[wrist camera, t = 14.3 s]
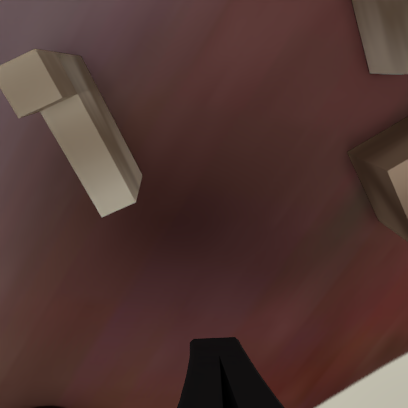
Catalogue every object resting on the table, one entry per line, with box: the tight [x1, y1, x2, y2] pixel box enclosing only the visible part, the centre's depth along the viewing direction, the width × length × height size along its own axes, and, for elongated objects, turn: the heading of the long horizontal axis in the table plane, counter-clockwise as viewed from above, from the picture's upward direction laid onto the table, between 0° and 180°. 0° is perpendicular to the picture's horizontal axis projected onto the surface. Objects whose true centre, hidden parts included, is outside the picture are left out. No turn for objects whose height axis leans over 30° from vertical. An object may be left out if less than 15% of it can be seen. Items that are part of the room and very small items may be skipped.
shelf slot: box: [0, 0, 408, 217], centre depth 14 cm, size 6×15×6 cm, turn 113°
